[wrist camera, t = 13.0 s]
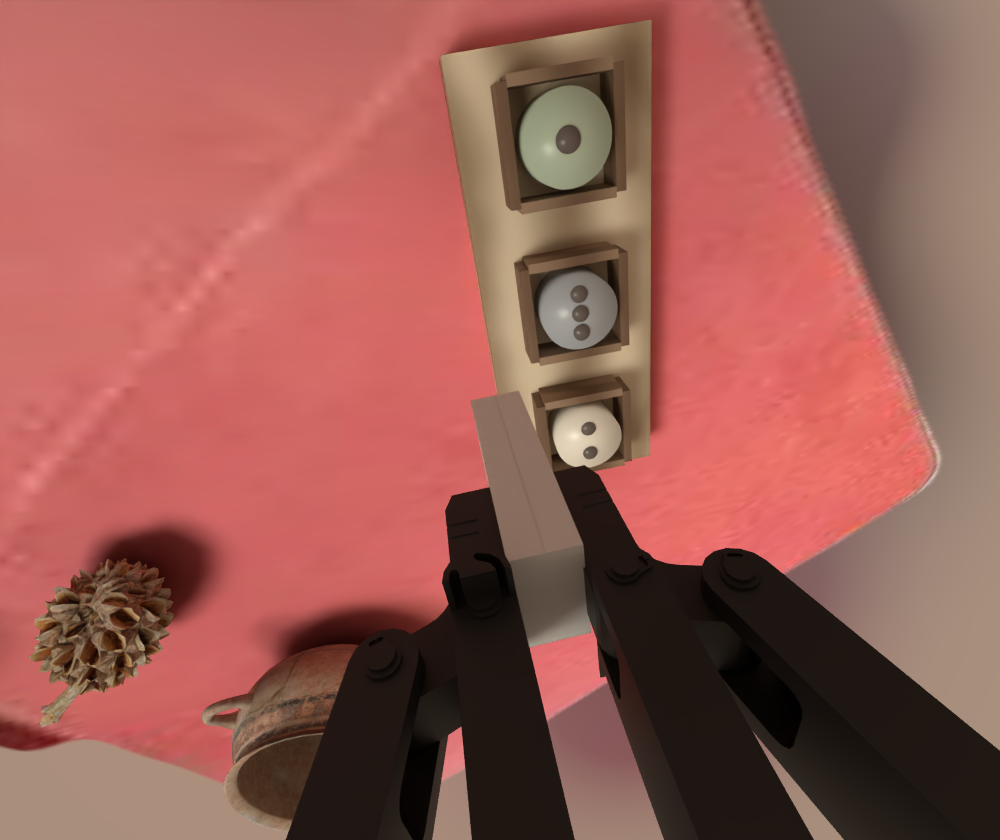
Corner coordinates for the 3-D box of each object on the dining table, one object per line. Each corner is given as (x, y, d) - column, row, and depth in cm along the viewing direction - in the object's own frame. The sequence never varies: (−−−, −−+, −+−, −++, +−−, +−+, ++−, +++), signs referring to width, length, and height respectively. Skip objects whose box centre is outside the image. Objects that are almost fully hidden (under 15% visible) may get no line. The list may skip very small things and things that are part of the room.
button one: (520, 191, 31) (529, 196, 29) (509, 97, 29) (517, 93, 26) (598, 177, 32) (614, 181, 29) (594, 82, 29) (611, 77, 26)
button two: (551, 452, 41) (560, 474, 39) (545, 399, 39) (553, 419, 36) (610, 440, 42) (622, 461, 39) (607, 387, 39) (621, 406, 36)
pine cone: (97, 510, 43) (14, 605, 34) (214, 548, 46) (165, 643, 37) (39, 662, 50) (-40, 771, 42) (143, 685, 54) (89, 789, 45)
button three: (538, 340, 36) (547, 356, 34) (529, 271, 34) (538, 283, 31) (605, 327, 37) (619, 342, 34) (601, 257, 34) (616, 268, 31)
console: (508, 463, 45) (518, 501, 41) (439, 62, 30) (441, 48, 25) (637, 437, 46) (661, 472, 41) (632, 29, 31) (670, 9, 26)
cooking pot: (484, 649, 58) (497, 764, 47) (397, 735, 64) (391, 852, 54) (276, 572, 48) (234, 694, 38) (198, 681, 55) (143, 812, 44)
